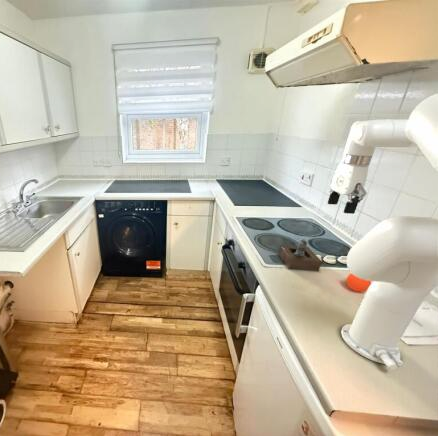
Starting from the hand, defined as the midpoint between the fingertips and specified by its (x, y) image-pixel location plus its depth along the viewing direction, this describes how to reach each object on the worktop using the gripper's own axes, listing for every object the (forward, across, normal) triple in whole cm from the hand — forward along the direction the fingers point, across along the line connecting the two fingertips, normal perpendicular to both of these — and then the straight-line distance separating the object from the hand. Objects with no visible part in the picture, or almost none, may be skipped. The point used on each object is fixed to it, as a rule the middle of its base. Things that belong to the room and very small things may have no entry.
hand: (340, 208), depth 86 cm
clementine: (+30, +6, +10) cm, 32 cm away
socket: (+30, -10, -4) cm, 31 cm away
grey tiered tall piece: (+30, -10, -4) cm, 32 cm away
